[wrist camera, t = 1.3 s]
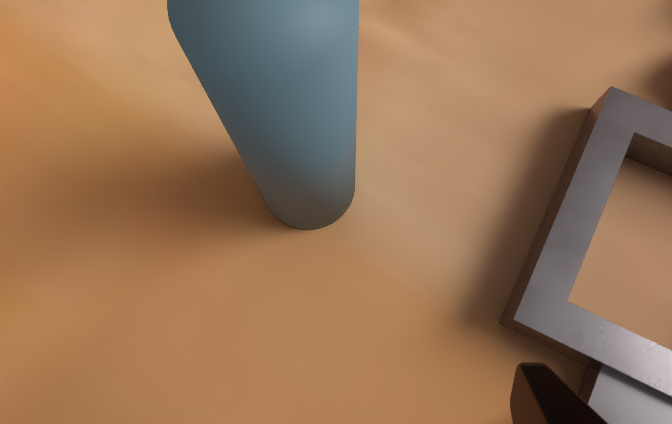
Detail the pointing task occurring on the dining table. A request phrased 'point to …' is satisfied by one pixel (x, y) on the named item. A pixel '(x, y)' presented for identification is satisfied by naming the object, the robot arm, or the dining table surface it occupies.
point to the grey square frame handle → (567, 256)
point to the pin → (282, 95)
